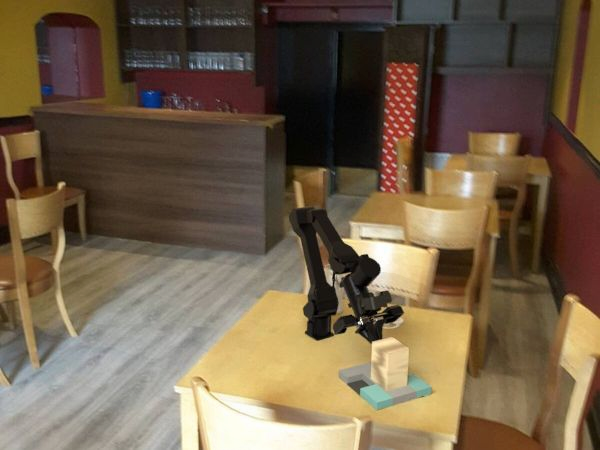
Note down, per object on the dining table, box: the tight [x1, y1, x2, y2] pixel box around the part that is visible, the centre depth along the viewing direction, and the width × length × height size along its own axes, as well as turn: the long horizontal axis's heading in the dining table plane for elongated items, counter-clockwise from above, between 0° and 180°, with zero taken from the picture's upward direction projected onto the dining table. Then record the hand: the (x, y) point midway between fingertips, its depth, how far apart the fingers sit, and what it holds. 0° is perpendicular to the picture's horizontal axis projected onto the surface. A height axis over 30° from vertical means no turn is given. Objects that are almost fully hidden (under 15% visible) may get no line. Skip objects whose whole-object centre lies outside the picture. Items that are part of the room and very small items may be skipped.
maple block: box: [370, 336, 410, 391], centre depth 153 cm, size 7×6×10 cm
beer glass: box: [324, 263, 347, 315], centre depth 201 cm, size 7×7×15 cm
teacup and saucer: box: [383, 317, 405, 330], centre depth 193 cm, size 9×8×4 cm
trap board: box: [338, 361, 417, 406], centre depth 157 cm, size 18×16×2 cm
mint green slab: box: [359, 373, 433, 411], centre depth 152 cm, size 7×16×2 cm, turn 117°
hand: (381, 350), depth 156 cm, fingers closed
